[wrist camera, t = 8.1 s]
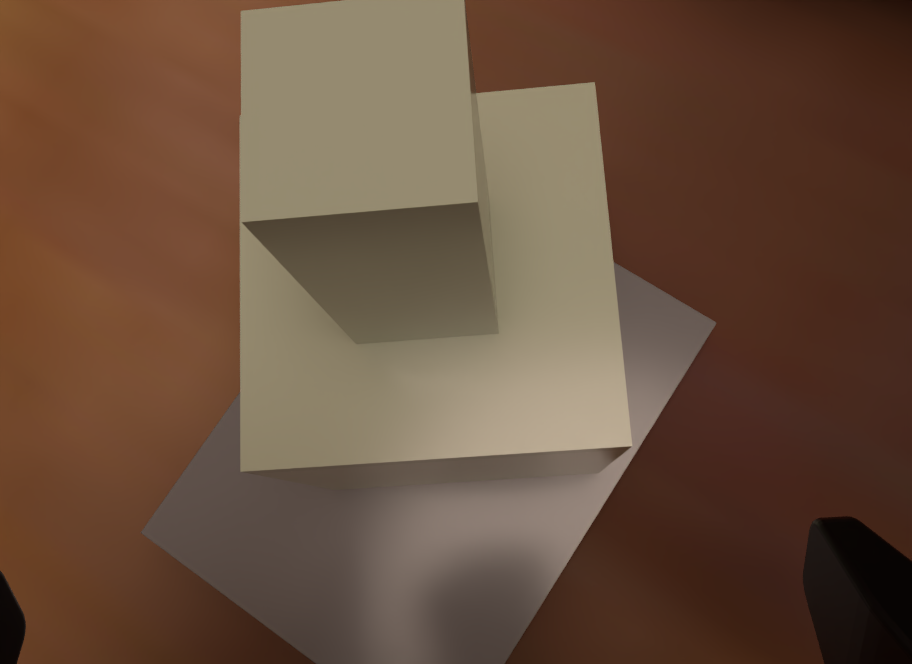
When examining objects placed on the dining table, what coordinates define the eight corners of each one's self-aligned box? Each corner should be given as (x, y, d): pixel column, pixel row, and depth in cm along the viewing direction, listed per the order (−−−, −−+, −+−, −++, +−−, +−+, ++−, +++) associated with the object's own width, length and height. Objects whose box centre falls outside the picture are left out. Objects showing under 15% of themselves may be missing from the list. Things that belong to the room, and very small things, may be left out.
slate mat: (448, 748, 21) (444, 759, 20) (158, 532, 22) (140, 532, 21) (708, 332, 22) (716, 323, 21) (419, 160, 24) (414, 144, 23)
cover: (598, 473, 21) (706, 387, 8) (333, 490, 21) (40, 432, 8) (574, 219, 22) (634, -193, 9) (326, 239, 23) (68, -128, 10)
